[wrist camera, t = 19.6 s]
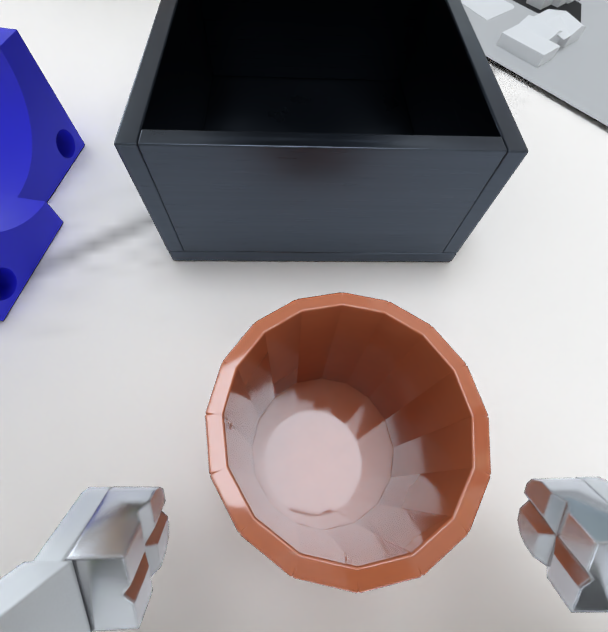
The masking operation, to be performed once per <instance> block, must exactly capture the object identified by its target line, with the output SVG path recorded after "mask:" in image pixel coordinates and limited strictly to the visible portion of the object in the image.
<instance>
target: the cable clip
mask: <svg viewBox="0 0 608 632" xmlns="http://www.w3.org/2000/svg"><path fill="white" fill-rule="evenodd" d="M84 145H85V144H84V142H83V140H82V139H81V137H80V135H79V134H78V132H77V130H76V129H75V127H74V125H73V124H72V122H71V120H70V119H69V117H68V115H67V114H66V112H65V110H64V108H63V107H62V105H61V103H60V102H59V100H58V98H57V97H56V95H55V93H54V92H53V90H52V88H51V87H50V85H49V83H48V82H47V80H46V78H45V76H44V75H43V73H42V71H41V70H40V68H39V66H38V65H37V63H36V61H35V60H34V58H33V56H32V55H31V53H30V51H29V49H28V48H27V46H26V44H25V43H24V41H23V39H22V38H21V36H20V34H19V33H18V31H17V30H16V29H8V28H0V321H3V320H4V319H5V317H6V316H7V314H8V312H9V311H10V309H11V307H12V306H13V304H14V302H15V301H16V299H17V297H18V296H19V294H20V293H21V291H22V289H23V288H24V286H25V284H26V283H27V281H28V279H29V278H30V276H31V274H32V273H33V271H34V269H35V268H36V266H37V265H38V263H39V261H40V260H41V258H42V256H43V255H44V253H45V251H46V250H47V248H48V246H49V245H50V243H51V242H52V240H53V238H54V237H55V235H56V233H57V232H58V230H59V228H60V227H61V225H62V223H63V221H62V220H61V219H60V218H59V217H58V215H57V214H56V213H55V212H54V211H53V209H52V208H51V207H50V206H49V205H48V204H47V202H48V200H49V198H50V197H51V195H52V194H53V192H54V191H55V189H56V188H57V186H58V185H59V183H60V182H61V180H62V179H63V177H64V176H65V174H66V173H67V171H68V170H69V168H70V167H71V165H72V163H73V162H74V160H75V159H76V157H77V156H78V154H79V153H80V151H81V150H82V148H83V147H84Z"/></svg>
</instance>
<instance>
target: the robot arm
mask: <svg viewBox="0 0 608 632" xmlns="http://www.w3.org/2000/svg"><path fill="white" fill-rule="evenodd" d="M524 493H525V495H526V496H527V498H528V501H527V502H526V503H525V504H524V505H523V506H522V507H521V508H520V510H519V515H518V526H519V531H520V535H521V537H522V539H523V542H524V544H525V546H526V547H527V549H528V550H529V552H530V553H531V555H532V556H533V557H535V558H536V559H537V560H539V561H540V562H542V563H543V564H544V565H546V566H547V578H548V580H549V581H550V582H551V584H552V585H553V587H554V588H555V590H556V591H557V593H558V594H559V596H560V597H561V598H562V600H563V601H564V603H565V604H566V606H567V607H568V609H569V610H570V611H571V612H608V481H607V480H605V479H603V478H601V477H576V478H543V479H531V480H530V481H529V482H528V483H527V484H526V488H525V491H524ZM165 501H166V500H165V495H164V490H163V488H161V487H89V488H88V489H86V490H85V491H83V492H82V493H81V494H80V496H79V497H78V499H77V500H76V501H75V503H74V504H73V506H72V507H71V508H70V510H69V511H68V513H67V514H66V515H65V517H64V518H63V520H62V521H61V522H60V524H59V525H58V527H57V528H56V529H55V531H54V532H53V534H52V535H51V536H50V538H49V539H48V541H47V542H46V543H45V545H44V546H43V548H42V549H41V550H40V552H39V553H38V555H37V556H36V557H35V559H34V560H33V561H32V562H23V563H22V564H21V565H19V566H18V567H16V568H15V569H13V570H12V571H11V572H9V573H8V574H6V575H5V576H3V577H2V578H1V579H0V632H96V631H111V630H125V629H139V628H140V625H141V622H142V620H143V617H144V614H145V611H146V608H147V606H148V603H149V600H150V597H151V594H152V591H153V587H152V581H151V576H152V575H153V574H154V573H155V572H157V571H158V570H159V569H160V568H161V566H162V563H163V560H164V557H165V554H166V549H167V544H168V538H169V521H168V516H167V515H166V514H165V513H164V512H162V508H163V506H164V503H165Z"/></svg>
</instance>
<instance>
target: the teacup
mask: <svg viewBox="0 0 608 632" xmlns="http://www.w3.org/2000/svg"><path fill="white" fill-rule="evenodd" d="M487 416H488V414H487V411H486V409H485V407H484V404H483V402H482V400H481V397H480V395H479V392H478V390H477V388H476V385H475V383H474V381H473V378H472V376H471V373H470V371H469V369H468V366H466V363H465V362H464V361H463V360H462V359H461V358H460V357H459V355H458V354H457V353H456V352H455V351H454V350H453V349H452V348H451V347H450V345H449V344H448V343H447V342H446V341H445V340H444V339H443V338H442V336H441V335H440V334H439V333H438V332H437V331H436V330H435V329H434V328H433V327H431V325H430V324H428V323H426V322H424V321H423V320H421V319H419V318H417V317H416V316H414V315H412V314H410V313H409V312H407V311H405V310H403V309H402V308H400V307H398V306H396V305H395V304H393V303H391V302H388V301H385V300H380V299H375V298H370V297H364V296H359V295H354V294H349V293H334V294H327V295H321V296H314V297H308V298H301V299H297V300H294V301H292V302H290V303H289V304H287V305H285V306H283V307H281V308H280V309H278V310H276V311H274V312H272V313H271V314H269V315H267V316H265V317H264V318H262V319H260V320H258V321H256V322H255V324H253V325H252V326H251V327H250V328H249V330H248V331H247V332H246V333H245V335H244V336H243V337H242V338H241V339H240V341H239V342H238V343H237V344H236V345H235V347H234V348H233V349H232V350H231V351H230V353H229V354H228V355H227V356H226V358H225V359H224V360H223V362H222V364H221V366H220V369H219V373H218V376H217V379H216V382H215V385H214V388H213V391H212V394H211V397H210V401H209V404H208V407H207V410H206V416H205V421H206V435H207V450H208V464H209V473H210V474H211V475H210V477H211V479H212V481H213V483H214V485H215V487H216V489H217V491H218V493H219V495H220V497H221V499H222V501H223V503H224V505H225V507H226V509H227V511H228V513H229V515H230V517H231V519H232V521H233V523H234V525H235V527H236V529H237V531H238V532H239V533H240V535H241V536H242V537H243V538H244V539H245V540H247V541H248V542H249V543H250V544H252V545H253V546H254V547H255V548H256V549H258V550H259V551H260V552H261V553H262V554H264V555H265V556H266V557H267V558H269V559H270V560H271V561H272V562H273V563H275V564H276V565H277V566H278V567H279V568H281V569H282V570H283V571H284V572H286V573H287V574H288V575H289V576H293V578H295V579H299V580H303V581H307V582H312V583H316V584H320V585H324V586H328V587H333V588H337V589H341V590H345V591H349V592H354V593H358V592H359V593H363V592H367V591H371V590H374V589H378V588H382V587H386V586H390V585H393V584H397V583H401V582H405V581H409V580H412V579H416V578H420V577H421V575H425V574H426V573H427V572H428V571H429V570H430V569H431V568H432V567H433V566H434V565H436V564H437V563H438V562H439V561H440V560H441V559H442V558H443V557H444V556H445V555H446V554H447V553H448V552H449V551H451V550H452V549H453V548H454V547H455V546H456V545H457V544H458V543H459V542H460V541H461V540H462V539H463V538H464V537H466V536H467V534H468V532H469V531H470V529H471V526H472V524H473V521H474V519H475V516H476V513H477V511H478V508H479V505H480V503H481V500H482V498H483V495H484V492H485V490H486V487H487V484H488V482H489V479H490V474H491V466H490V440H489V418H488V417H487Z"/></svg>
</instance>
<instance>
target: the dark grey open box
mask: <svg viewBox="0 0 608 632" xmlns="http://www.w3.org/2000/svg"><path fill="white" fill-rule="evenodd" d="M114 145H115V147H116V149H117V151H118V153H119V155H120V157H121V159H122V161H123V163H124V165H125V167H126V169H127V171H128V173H129V175H130V177H131V179H132V181H133V183H134V185H135V187H136V188H137V190H138V192H139V194H140V196H141V198H142V200H143V202H144V204H145V206H146V208H147V210H148V212H149V214H150V216H151V218H152V220H153V222H154V224H155V226H156V228H157V230H158V232H159V234H160V236H161V238H162V240H163V242H164V244H165V246H166V248H167V250H168V251H169V253H170V255H171V257H172V259H173V260H230V261H425V262H450V261H451V260H452V259H453V258H454V256H455V255H456V252H458V251H459V249H460V248H461V246H462V245H463V244H464V242H465V241H466V239H467V238H468V237H469V235H470V234H471V232H472V231H473V229H474V228H475V227H476V225H477V224H478V222H479V221H480V220H481V218H482V217H483V215H484V214H485V212H486V211H487V210H488V208H489V207H490V205H491V204H492V203H493V201H494V200H495V198H496V197H497V196H498V194H499V193H500V191H501V190H502V188H503V187H504V186H505V184H506V183H507V181H508V180H509V179H510V177H511V176H512V174H513V173H514V172H515V170H516V169H517V167H518V166H519V164H520V163H521V162H522V160H523V159H524V157H525V156H526V155H527V153H528V149H527V147H526V145H525V142H524V140H523V138H522V136H521V133H520V131H519V129H518V127H517V125H516V122H515V120H514V118H513V116H512V113H511V111H510V109H509V107H508V105H507V102H506V100H505V98H504V96H503V93H502V91H501V89H500V87H499V85H498V82H497V80H496V78H495V76H494V73H493V71H492V69H491V67H490V65H489V62H488V60H487V58H486V56H485V53H484V51H483V49H482V47H481V44H480V42H479V40H478V38H477V36H476V33H475V31H474V29H473V27H472V24H471V22H470V20H469V18H468V16H467V13H466V11H465V9H464V7H463V4H462V2H461V0H161V2H160V5H159V8H158V11H157V14H156V17H155V20H154V23H153V26H152V29H151V32H150V35H149V38H148V41H147V44H146V47H145V50H144V53H143V56H142V59H141V62H140V66H139V69H138V72H137V75H136V78H135V81H134V84H133V87H132V90H131V93H130V96H129V99H128V102H127V105H126V108H125V111H124V114H123V117H122V120H121V123H120V126H119V129H118V132H117V135H116V138H115V141H114Z"/></svg>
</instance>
